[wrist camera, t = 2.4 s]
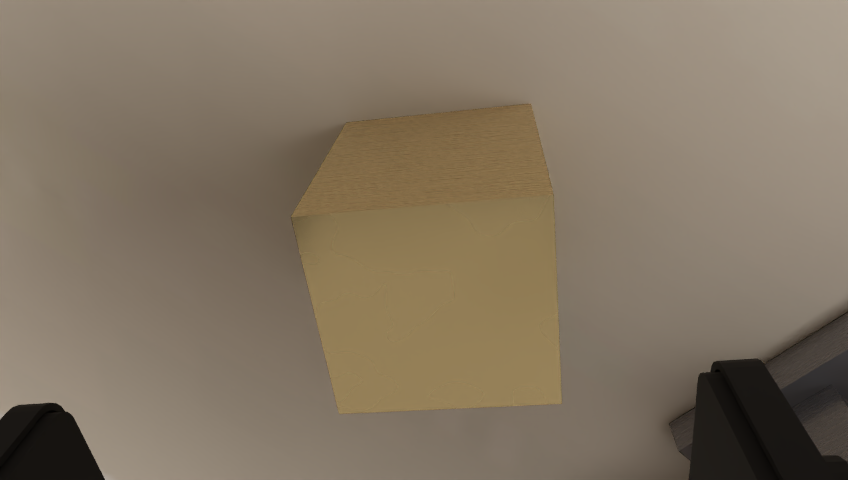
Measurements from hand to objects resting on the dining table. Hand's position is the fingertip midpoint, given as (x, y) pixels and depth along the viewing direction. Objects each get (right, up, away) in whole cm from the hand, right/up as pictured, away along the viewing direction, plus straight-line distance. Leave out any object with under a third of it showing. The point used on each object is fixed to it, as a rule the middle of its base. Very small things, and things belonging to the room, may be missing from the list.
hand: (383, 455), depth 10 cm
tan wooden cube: (+1, +4, +9) cm, 10 cm away
